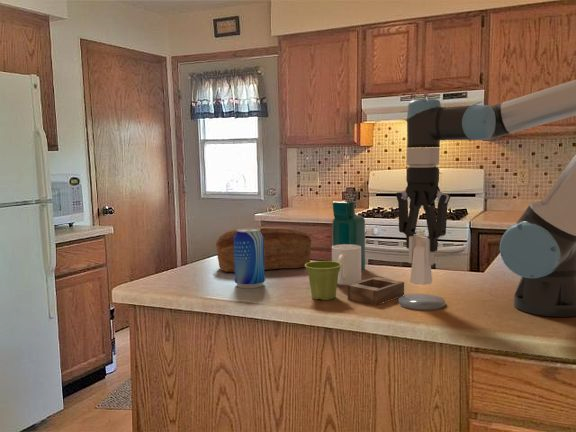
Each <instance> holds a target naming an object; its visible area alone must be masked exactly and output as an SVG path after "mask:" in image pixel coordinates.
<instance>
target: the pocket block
mask: <svg viewBox="0 0 576 432" xmlns="http://www.w3.org/2000/svg"><path fill="white" fill-rule="evenodd" d="M403 295H405V281H400V280H396V279H389V278H384V277H379V276H373V277H370V278H366V279H364V280H361V281H360V282H357V283H353V284H350V285H347V300H351V299H352V300H351V301H357V302H360V301H361V303H366V304H369V303H370V304H371V305H374V304H375V306H379V305H382V304H383V302H384V303H387V302H389V301H388V300H390V301H392V300H391V299H393V300H395V299H397V297H398V298H399V297H400V296H403ZM394 298H395V299H394ZM386 301H387V302H386ZM378 304H379V305H378Z"/></svg>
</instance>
